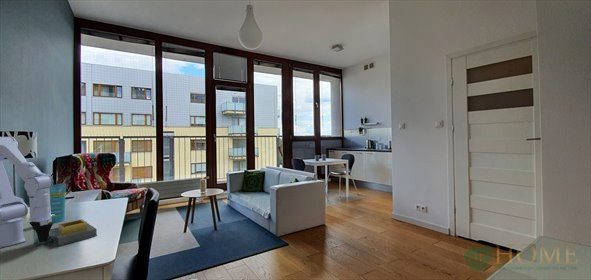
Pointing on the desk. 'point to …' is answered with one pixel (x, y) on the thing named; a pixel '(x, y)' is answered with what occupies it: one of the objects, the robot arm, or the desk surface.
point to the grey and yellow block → (72, 232)
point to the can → (36, 241)
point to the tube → (58, 202)
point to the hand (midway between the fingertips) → (41, 239)
